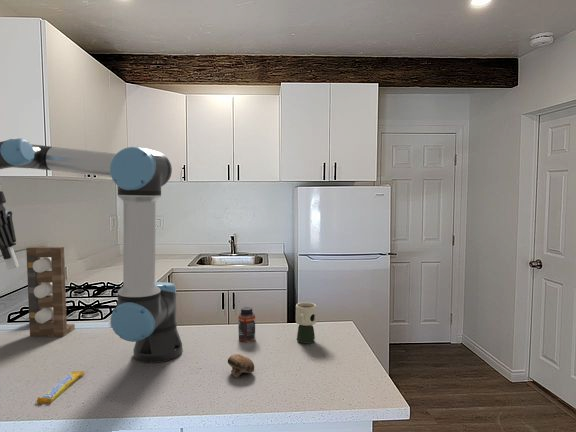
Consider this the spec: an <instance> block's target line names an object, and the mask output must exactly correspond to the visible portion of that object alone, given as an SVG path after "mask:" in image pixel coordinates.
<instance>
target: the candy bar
mask: <svg viewBox="0 0 576 432" xmlns="http://www.w3.org/2000/svg"><path fill="white" fill-rule="evenodd" d="M85 373H86V372H85V371H82V370H81V371H80V370H77V371H71V372H70V373H69V374H67V375H66V376H65V377H64V378H63V379H62V380H60V381H59V382H58V383H57V384H55V385H54V386H53V387H52V388H51V389H50V390H48V391H47V392H46V393H45V394H44V395H42V396H41V397H38V398H37V399H36V403H38V404H40V405H41V404H52V402H54V401H55V400H56V399H58V398H59V397H60V396H61V395H62V394H63V393H65V392H66V391H67V390H68V389H70V387H72V386H73V384H75V383H76V382H77V381H78V380H79V379H81V377H82V376H83V375H84V376H85Z"/></svg>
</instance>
